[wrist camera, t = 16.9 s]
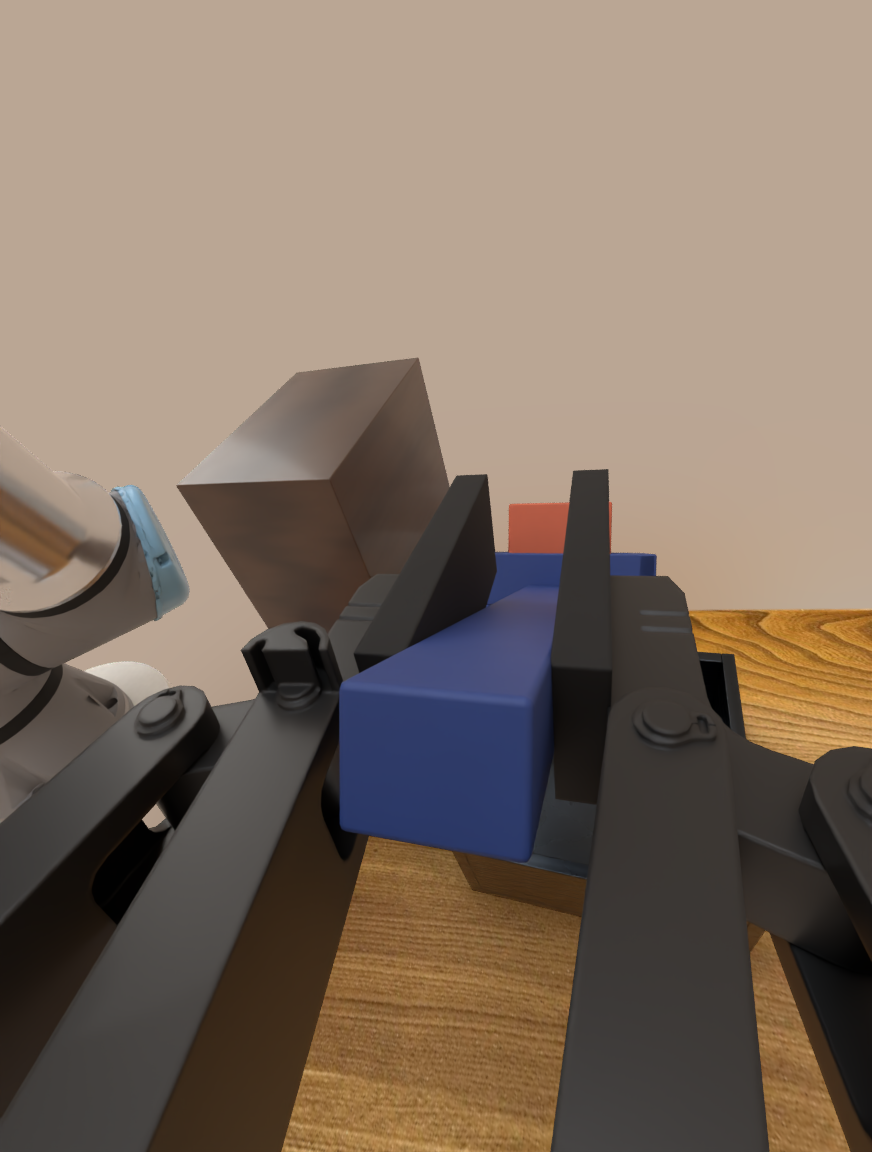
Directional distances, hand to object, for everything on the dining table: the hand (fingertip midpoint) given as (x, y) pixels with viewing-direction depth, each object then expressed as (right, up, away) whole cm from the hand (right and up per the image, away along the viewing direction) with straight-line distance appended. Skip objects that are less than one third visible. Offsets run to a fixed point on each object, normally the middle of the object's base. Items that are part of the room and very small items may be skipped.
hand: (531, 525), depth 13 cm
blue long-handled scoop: (+1, -3, +3) cm, 5 cm away
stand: (-2, -15, +33) cm, 36 cm away
